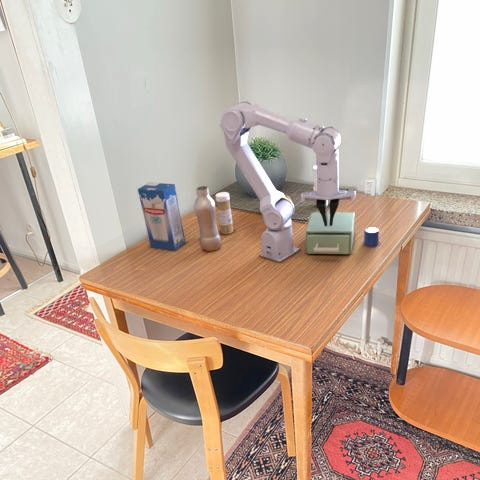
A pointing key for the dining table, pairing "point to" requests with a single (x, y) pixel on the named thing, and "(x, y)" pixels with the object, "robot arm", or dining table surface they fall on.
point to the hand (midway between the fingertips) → (328, 224)
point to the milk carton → (162, 215)
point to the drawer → (328, 243)
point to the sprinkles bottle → (224, 212)
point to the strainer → (315, 179)
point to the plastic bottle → (206, 219)
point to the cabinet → (341, 224)
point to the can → (371, 236)
